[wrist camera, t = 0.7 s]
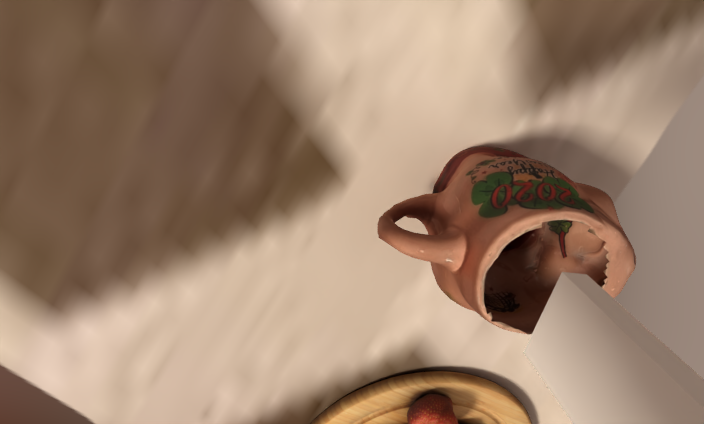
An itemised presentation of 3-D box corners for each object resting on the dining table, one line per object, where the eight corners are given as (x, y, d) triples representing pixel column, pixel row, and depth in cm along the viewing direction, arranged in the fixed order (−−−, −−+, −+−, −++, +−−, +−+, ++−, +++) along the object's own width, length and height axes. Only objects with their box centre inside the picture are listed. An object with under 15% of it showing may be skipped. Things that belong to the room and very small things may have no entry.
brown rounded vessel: (350, 252, 42) (382, 358, 29) (361, 125, 37) (405, 188, 24) (542, 249, 45) (643, 343, 33) (577, 133, 40) (712, 192, 28)
